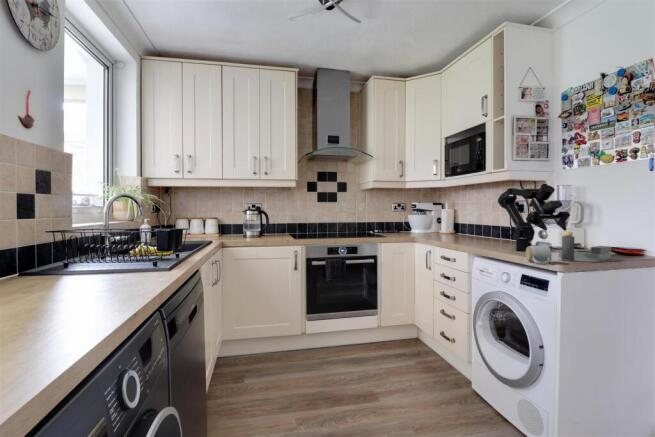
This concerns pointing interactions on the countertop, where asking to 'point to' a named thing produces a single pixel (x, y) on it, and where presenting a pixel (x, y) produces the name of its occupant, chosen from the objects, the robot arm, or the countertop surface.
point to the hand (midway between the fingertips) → (556, 230)
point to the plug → (568, 247)
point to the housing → (592, 253)
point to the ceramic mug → (539, 254)
